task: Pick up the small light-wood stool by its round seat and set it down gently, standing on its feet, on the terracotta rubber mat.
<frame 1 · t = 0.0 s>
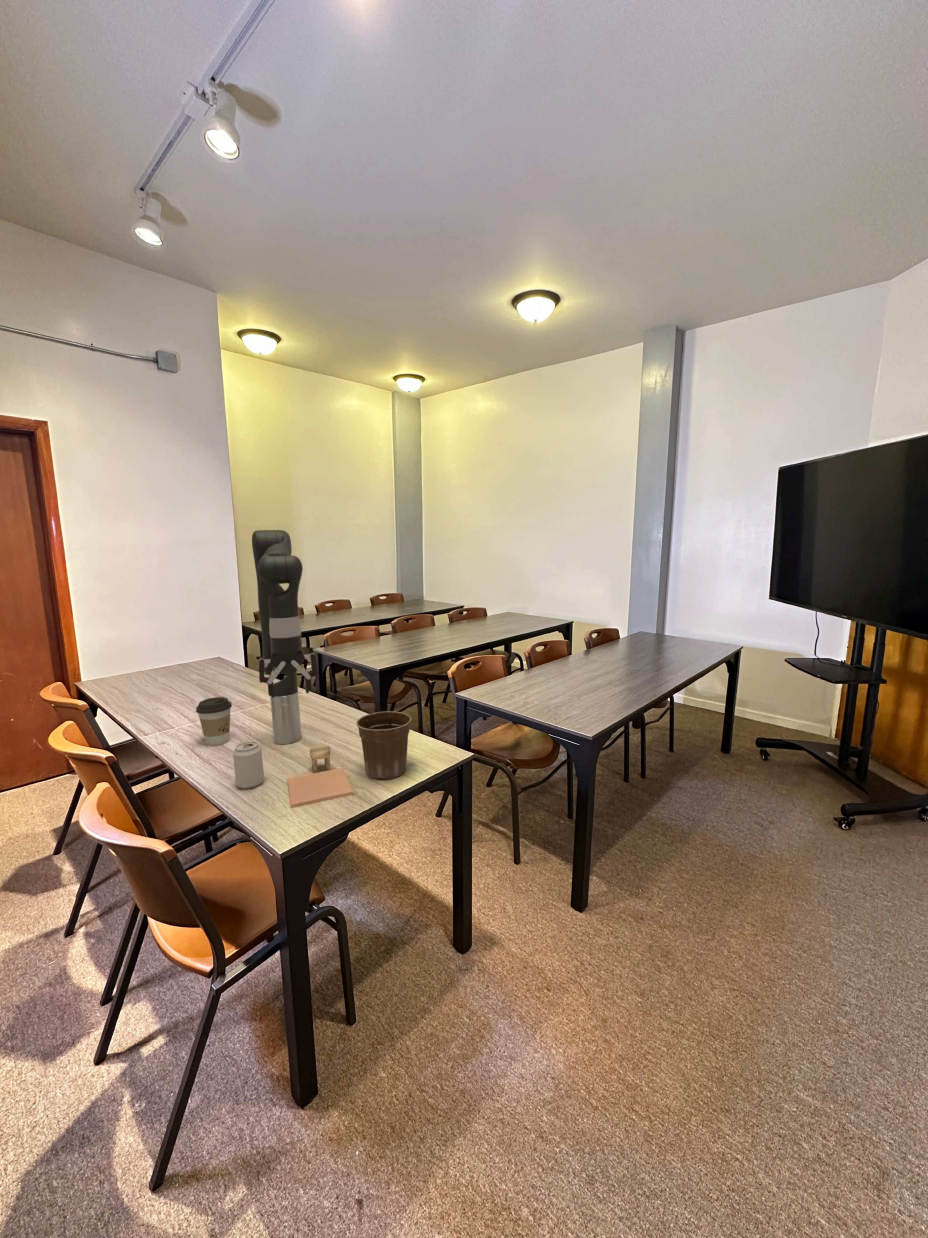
hand: (290, 694, 127), 29 cm above the table, fingers open, 8 cm apart
coffee cup: (217, 742, 172), on the table
can: (250, 784, 141), on the table
mat: (319, 787, 137), on the table
stool: (321, 768, 149), on the table
plant pot: (386, 771, 147), on the table
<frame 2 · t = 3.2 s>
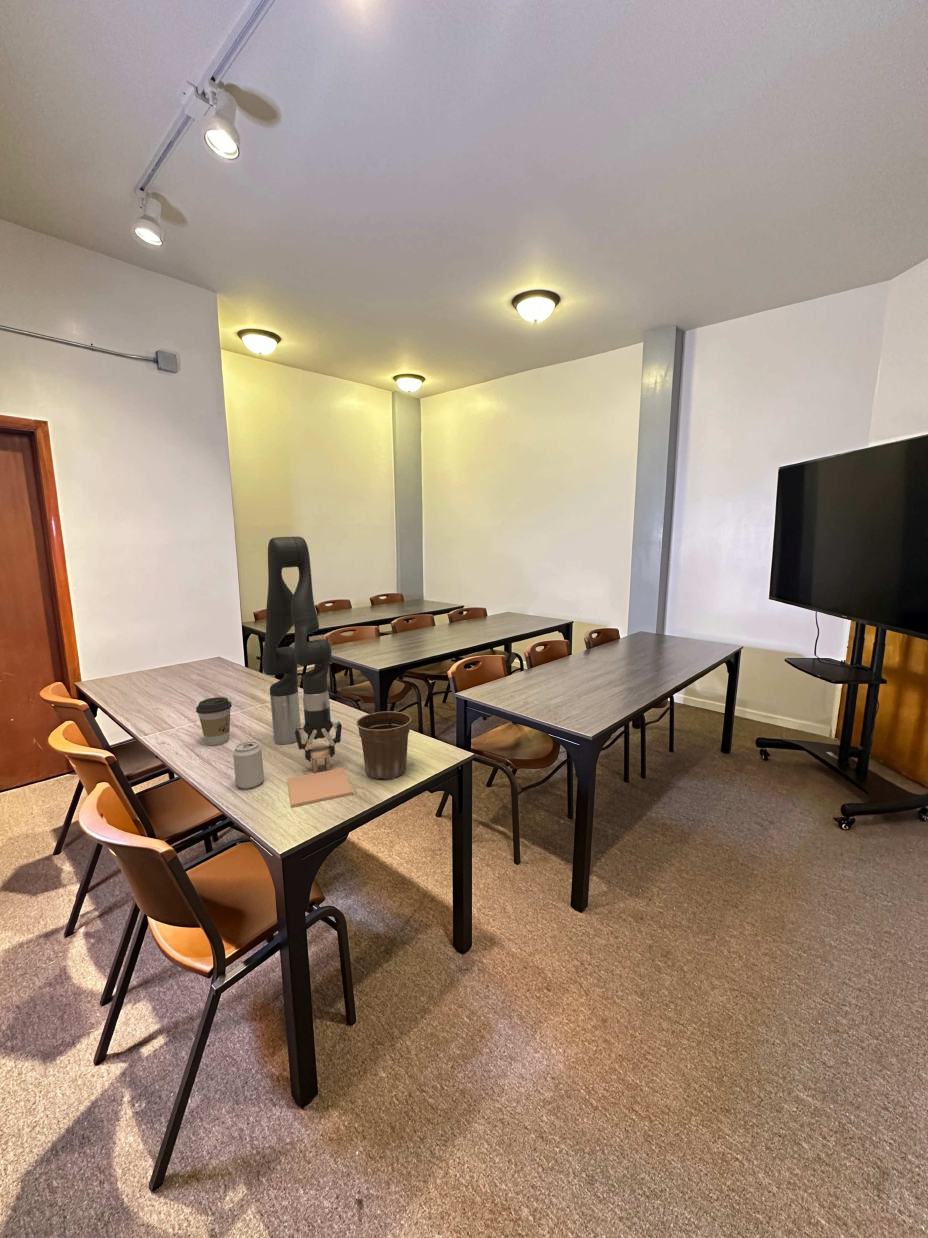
hand: (320, 758, 149), 3 cm above the table, fingers closed on stool, 6 cm apart
stool: (321, 768, 149), on the table, touching gripper
everything else where it was.
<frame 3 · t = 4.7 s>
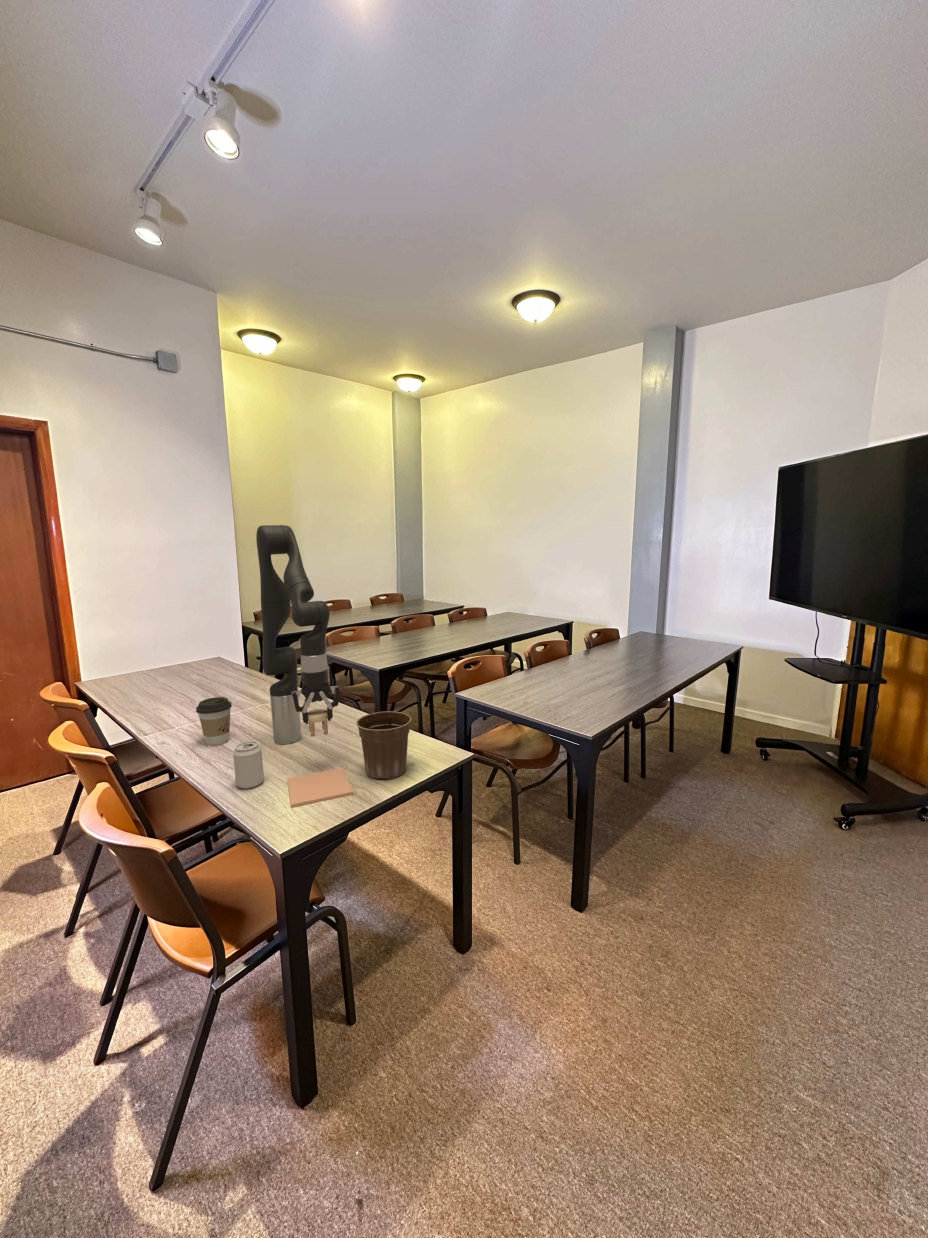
hand: (317, 721, 147), 15 cm above the table, fingers closed on stool, 6 cm apart
stool: (318, 732, 148), point 12 cm above the table, touching gripper
everything else where it was.
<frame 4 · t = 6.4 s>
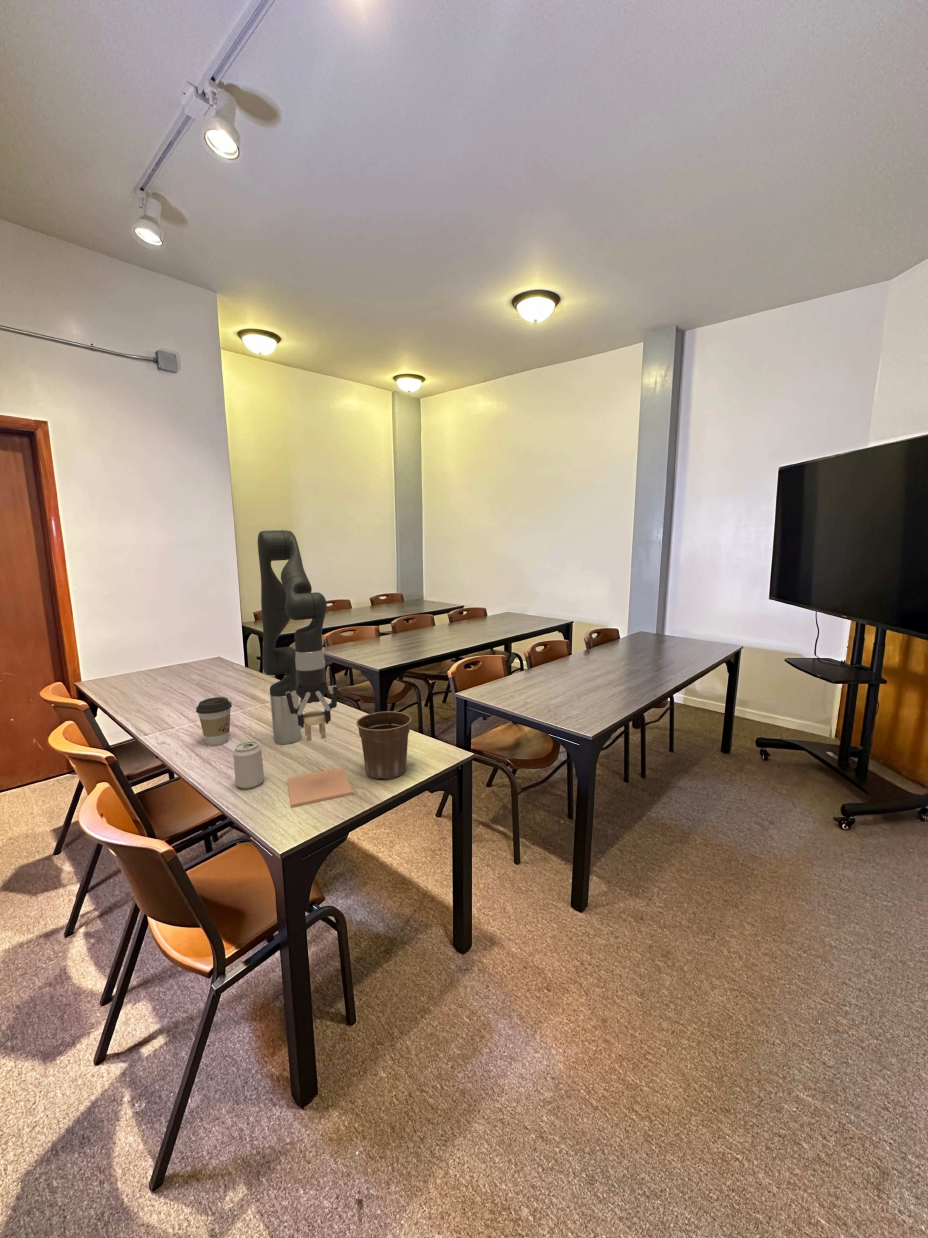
hand: (314, 724, 135), 19 cm above the table, fingers closed on stool, 6 cm apart
stool: (315, 736, 135), point 15 cm above the table, touching gripper
everything else where it was.
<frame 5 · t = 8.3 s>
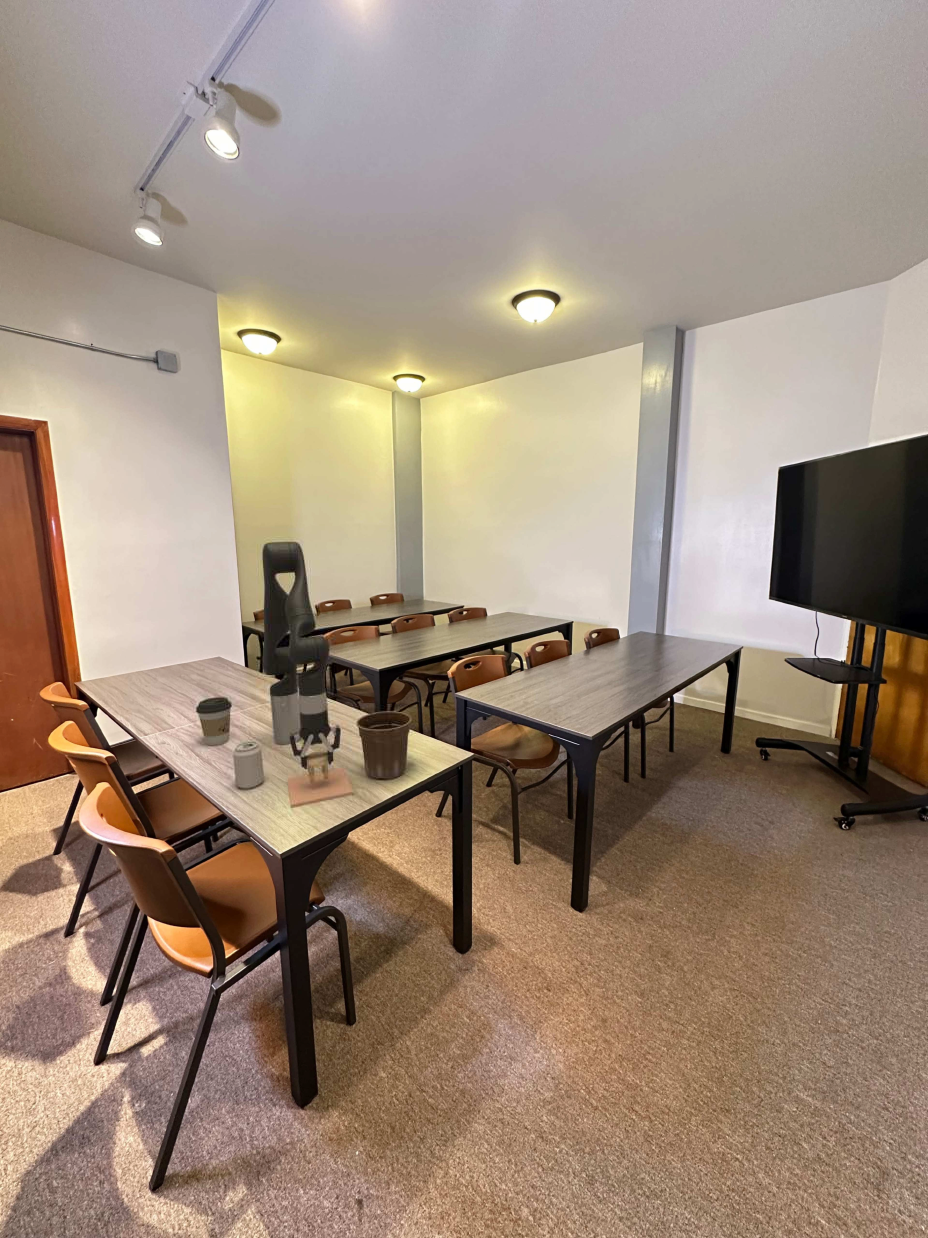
hand: (317, 765, 136), 7 cm above the table, fingers closed on stool, 6 cm apart
stool: (318, 777, 137), point 3 cm above the table, touching gripper
everything else where it was.
when the fingers open (5 cm above the table, at t = 9.7 s): stool stays where it is, resting on mat.
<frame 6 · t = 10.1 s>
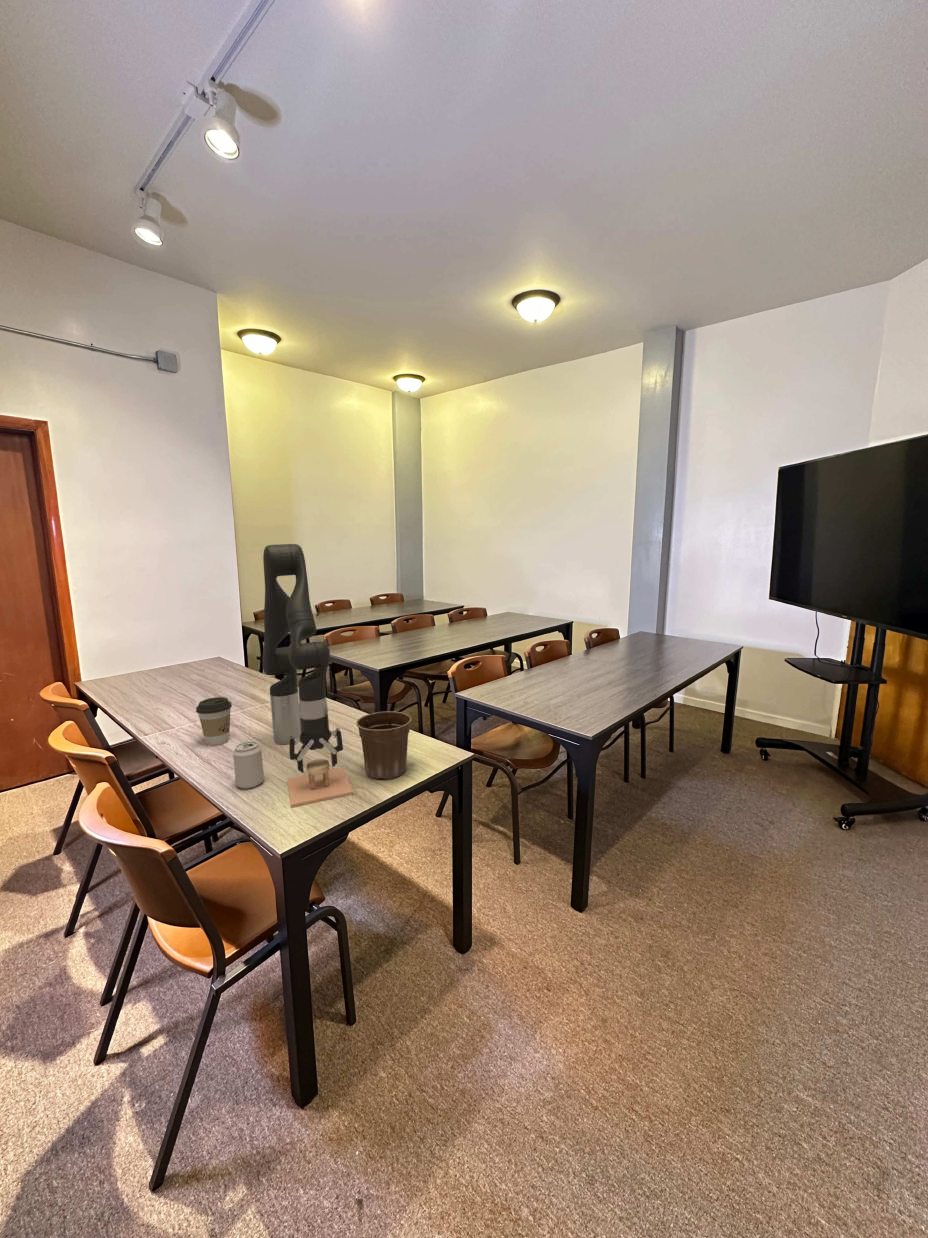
hand: (317, 768, 137), 6 cm above the table, fingers open, 8 cm apart
stool: (319, 784, 137), point 1 cm above the table, touching mat
everything else where it was.
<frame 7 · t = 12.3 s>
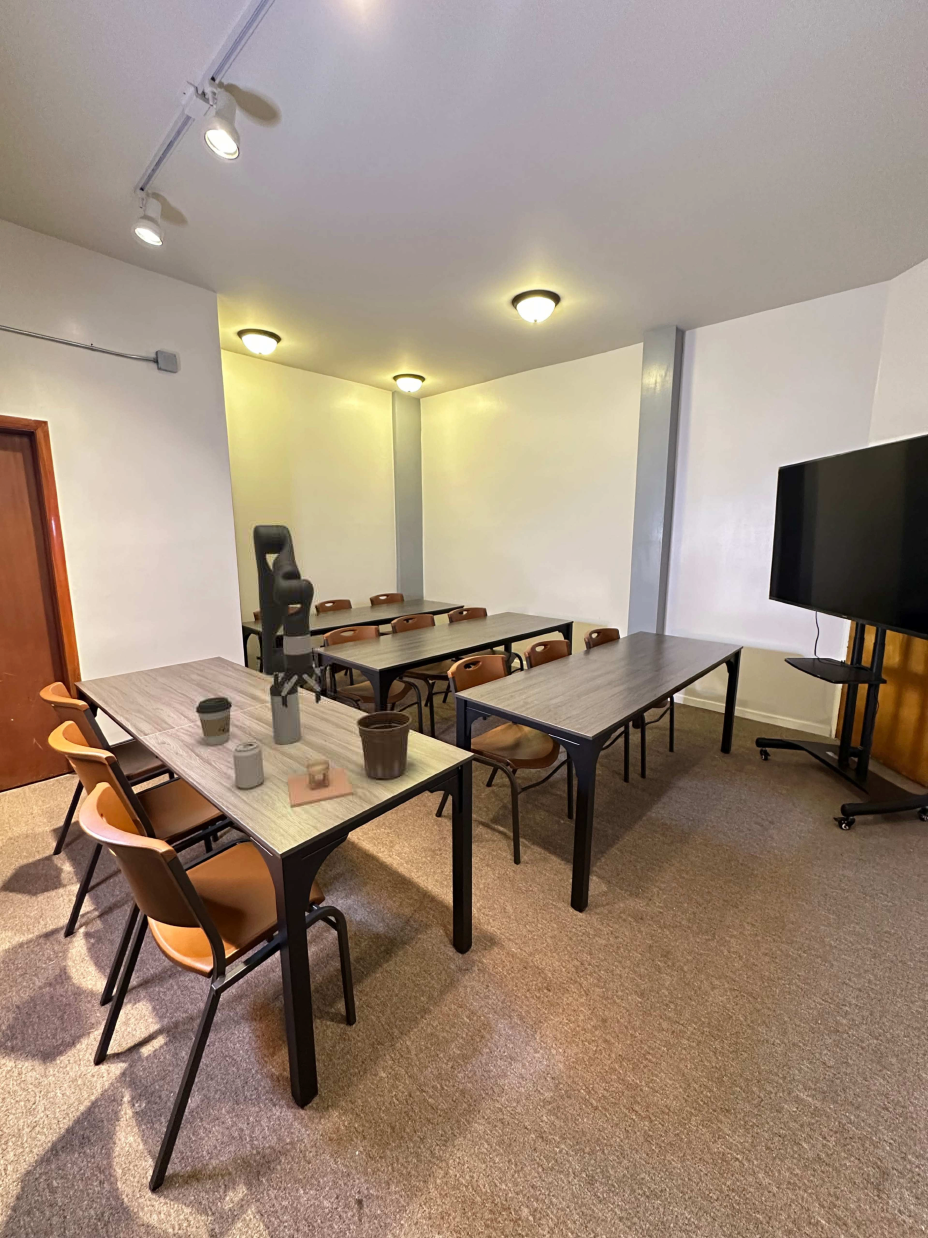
hand: (301, 704, 140), 23 cm above the table, fingers open, 8 cm apart
nothing on the table moved.
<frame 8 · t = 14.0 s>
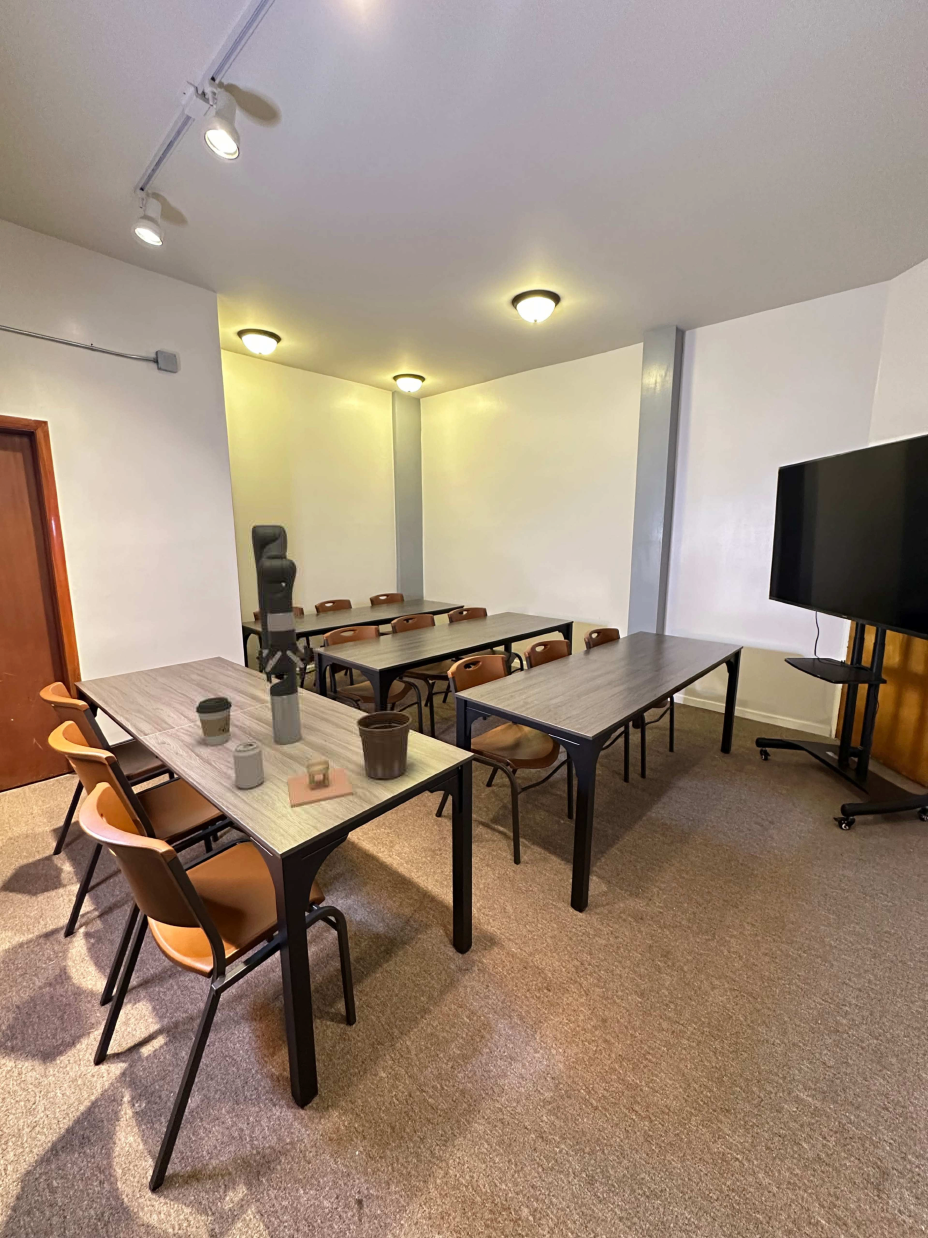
hand: (286, 681, 145), 28 cm above the table, fingers open, 8 cm apart
nothing on the table moved.
at the end: stool inside the target area (0.1 cm from its centre), point 0.8 cm above the table; stool tilted 0°; the gripper is holding nothing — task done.
